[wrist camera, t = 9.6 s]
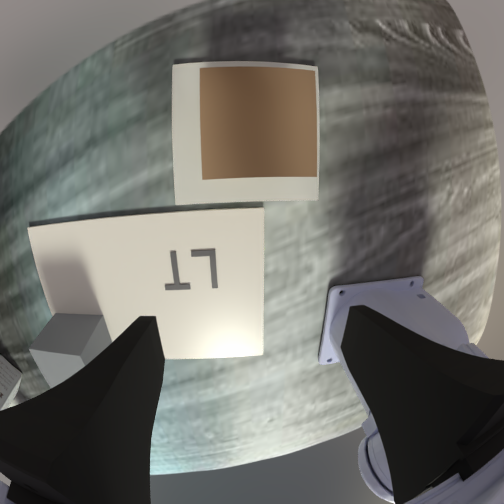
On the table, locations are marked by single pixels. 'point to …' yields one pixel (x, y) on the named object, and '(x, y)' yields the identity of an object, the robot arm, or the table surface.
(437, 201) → the table surface
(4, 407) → the skincare box
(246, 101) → the walnut block
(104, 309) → the mat
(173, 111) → the white square plate
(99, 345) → the slate block
